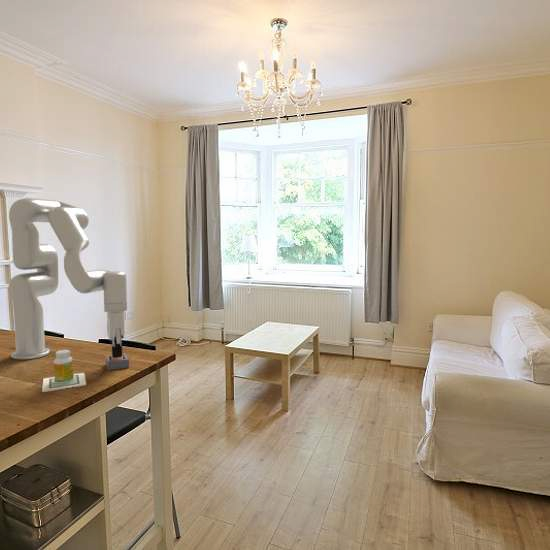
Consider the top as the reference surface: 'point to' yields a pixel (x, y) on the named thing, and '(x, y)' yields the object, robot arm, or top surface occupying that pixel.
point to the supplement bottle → (63, 367)
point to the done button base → (117, 363)
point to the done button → (116, 358)
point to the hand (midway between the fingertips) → (117, 356)
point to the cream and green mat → (76, 382)
